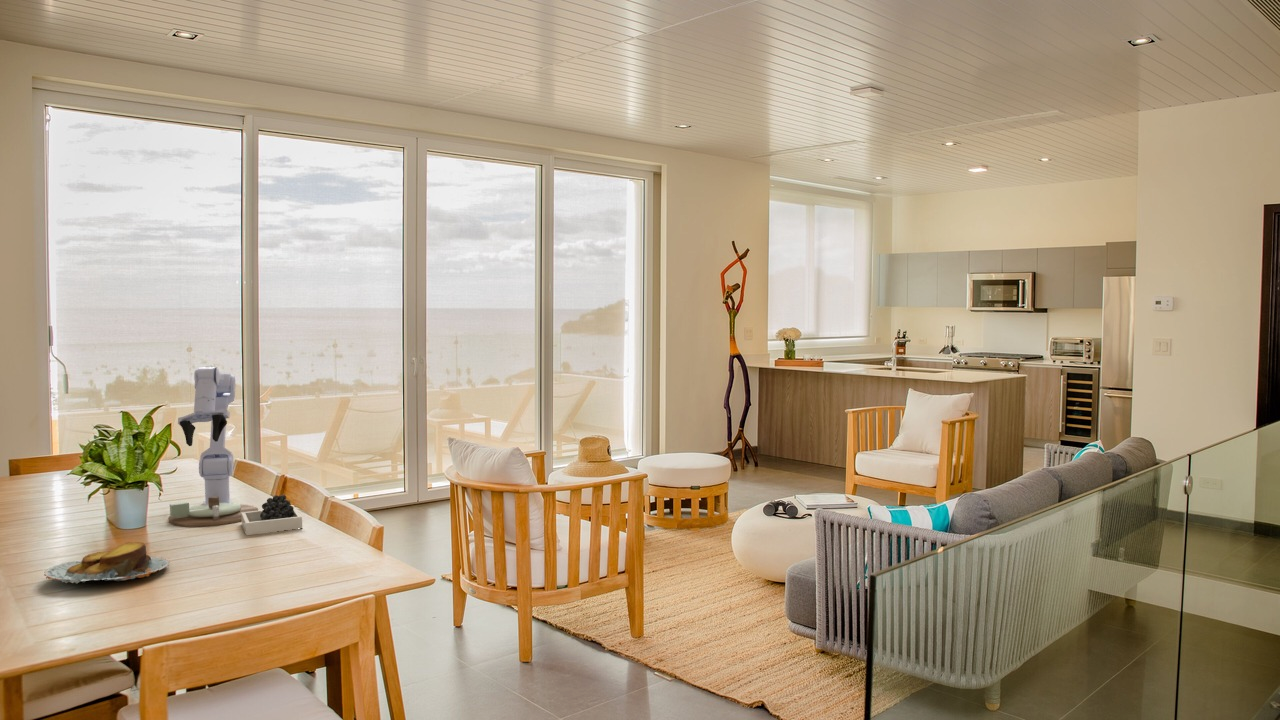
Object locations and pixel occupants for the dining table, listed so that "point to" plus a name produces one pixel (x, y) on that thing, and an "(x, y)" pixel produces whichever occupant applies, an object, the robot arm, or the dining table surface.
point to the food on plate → (109, 565)
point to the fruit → (276, 508)
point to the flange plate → (201, 509)
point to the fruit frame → (269, 523)
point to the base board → (208, 521)
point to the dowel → (215, 513)
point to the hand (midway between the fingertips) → (202, 442)
